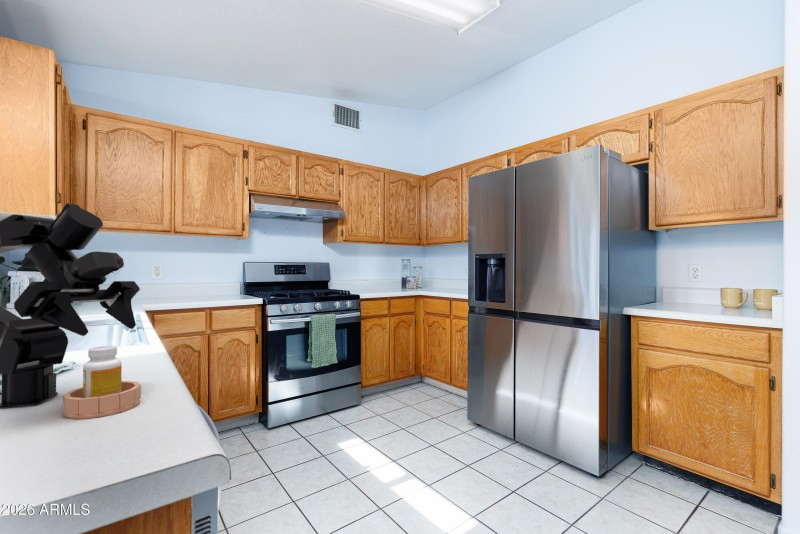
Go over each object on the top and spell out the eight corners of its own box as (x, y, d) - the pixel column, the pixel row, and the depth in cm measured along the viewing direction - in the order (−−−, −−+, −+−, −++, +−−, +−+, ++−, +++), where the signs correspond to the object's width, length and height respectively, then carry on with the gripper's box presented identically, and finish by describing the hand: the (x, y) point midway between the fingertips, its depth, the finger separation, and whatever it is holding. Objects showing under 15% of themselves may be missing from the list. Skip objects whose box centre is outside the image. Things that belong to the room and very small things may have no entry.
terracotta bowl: (49, 422, 61) (49, 402, 61) (82, 401, 72) (83, 384, 72) (126, 414, 64) (126, 395, 64) (148, 395, 75) (148, 379, 75)
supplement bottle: (129, 398, 70) (129, 345, 70) (101, 409, 65) (101, 351, 65) (104, 397, 71) (104, 344, 71) (74, 407, 66) (75, 350, 66)
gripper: (30, 230, 60) (87, 301, 58) (133, 241, 79) (179, 296, 76) (-11, 280, 62) (43, 352, 59) (99, 280, 80) (144, 335, 78)
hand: (111, 330), depth 68 cm, fingers open, 9 cm apart
